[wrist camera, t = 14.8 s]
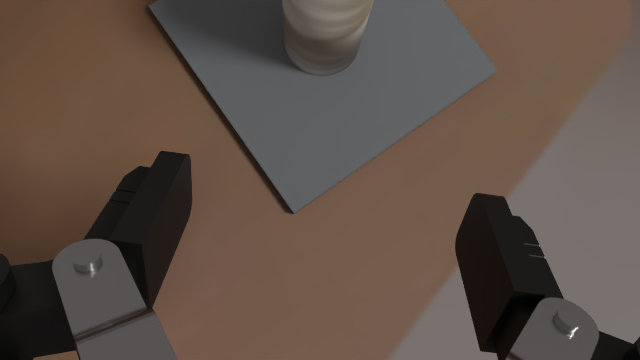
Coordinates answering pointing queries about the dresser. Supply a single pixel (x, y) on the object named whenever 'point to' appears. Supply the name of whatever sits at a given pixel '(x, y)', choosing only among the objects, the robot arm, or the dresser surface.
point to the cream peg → (324, 33)
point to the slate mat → (324, 84)
